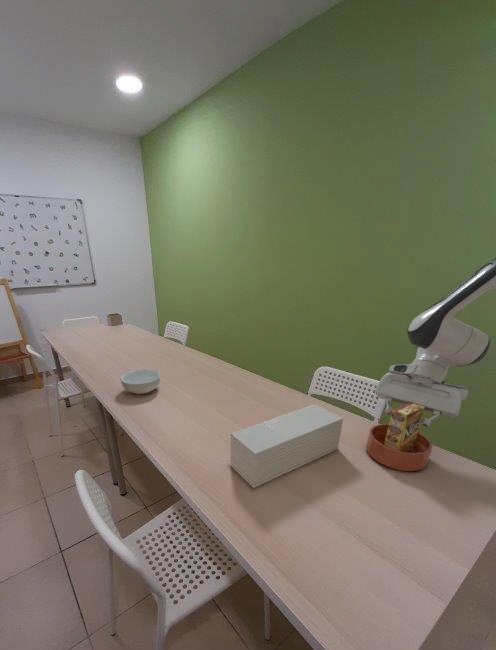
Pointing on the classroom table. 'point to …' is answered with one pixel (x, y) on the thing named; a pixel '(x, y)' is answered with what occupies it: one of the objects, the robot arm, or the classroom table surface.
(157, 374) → the cereal bowl
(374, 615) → the classroom table surface
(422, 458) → the pot
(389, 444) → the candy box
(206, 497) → the classroom table surface
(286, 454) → the pale grey rectangular box
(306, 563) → the classroom table surface
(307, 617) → the classroom table surface
